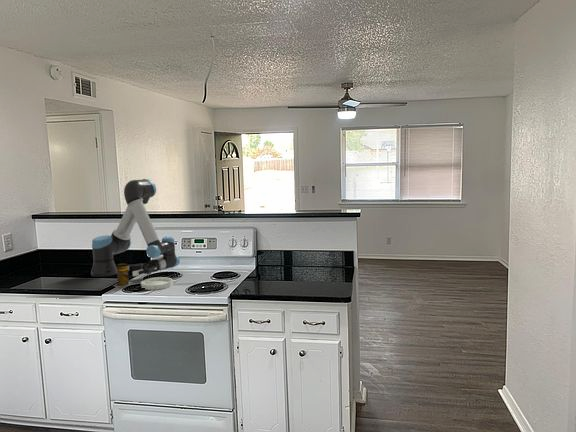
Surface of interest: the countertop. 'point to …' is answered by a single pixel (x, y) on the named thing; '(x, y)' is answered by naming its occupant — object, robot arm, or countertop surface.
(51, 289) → the countertop surface
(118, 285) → the condiment
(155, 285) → the white plate
